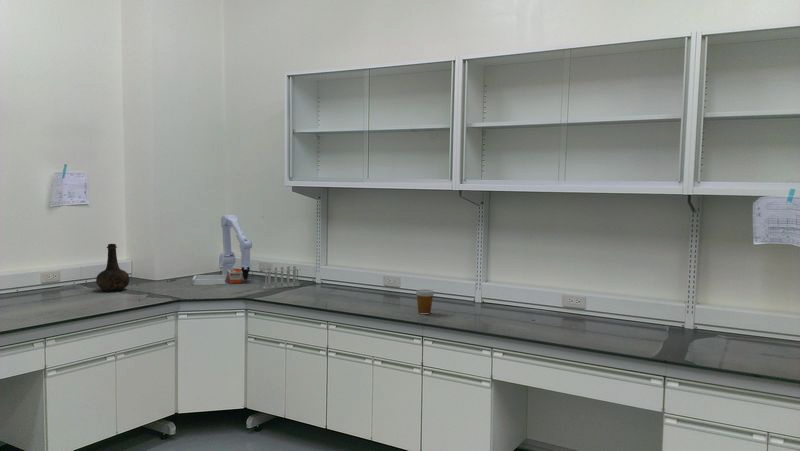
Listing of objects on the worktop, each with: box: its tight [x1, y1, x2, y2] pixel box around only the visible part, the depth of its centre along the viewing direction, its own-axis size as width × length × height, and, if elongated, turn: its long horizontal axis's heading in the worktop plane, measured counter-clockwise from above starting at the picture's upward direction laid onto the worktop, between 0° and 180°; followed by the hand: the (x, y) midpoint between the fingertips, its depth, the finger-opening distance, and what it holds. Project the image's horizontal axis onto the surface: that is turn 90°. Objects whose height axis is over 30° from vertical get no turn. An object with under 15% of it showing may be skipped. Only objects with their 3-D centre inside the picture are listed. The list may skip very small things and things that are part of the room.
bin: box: [191, 274, 227, 286], centre depth 385 cm, size 18×20×4 cm
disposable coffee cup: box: [415, 289, 435, 314], centre depth 307 cm, size 10×10×12 cm
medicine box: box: [226, 268, 243, 285], centre depth 390 cm, size 15×8×8 cm, turn 24°
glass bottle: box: [95, 243, 131, 292], centre depth 349 cm, size 18×18×28 cm
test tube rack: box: [262, 265, 302, 290], centre depth 375 cm, size 25×4×13 cm, turn 129°
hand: (245, 278), depth 391 cm, fingers open, 7 cm apart
